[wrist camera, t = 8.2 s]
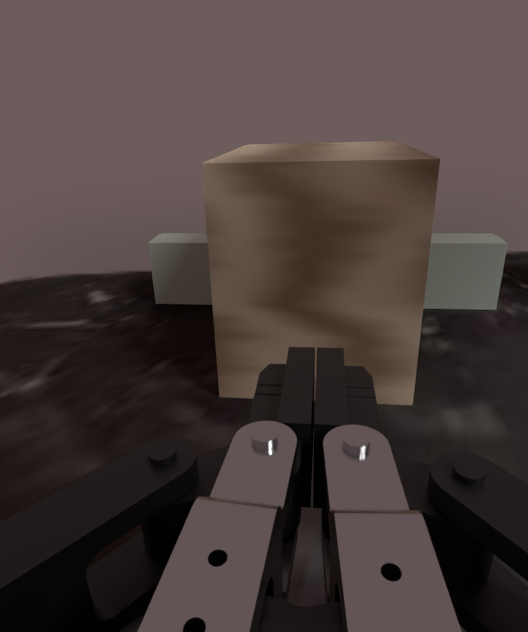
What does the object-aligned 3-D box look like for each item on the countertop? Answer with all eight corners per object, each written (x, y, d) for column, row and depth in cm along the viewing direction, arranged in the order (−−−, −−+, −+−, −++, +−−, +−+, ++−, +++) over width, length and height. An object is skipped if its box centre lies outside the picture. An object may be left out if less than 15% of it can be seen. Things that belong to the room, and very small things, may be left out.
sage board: (483, 295, 38) (494, 231, 36) (495, 309, 35) (508, 241, 33) (167, 290, 41) (160, 231, 39) (155, 303, 38) (147, 240, 36)
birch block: (383, 309, 36) (396, 141, 31) (412, 406, 24) (440, 158, 19) (253, 306, 37) (246, 144, 32) (219, 398, 25) (201, 163, 21)
